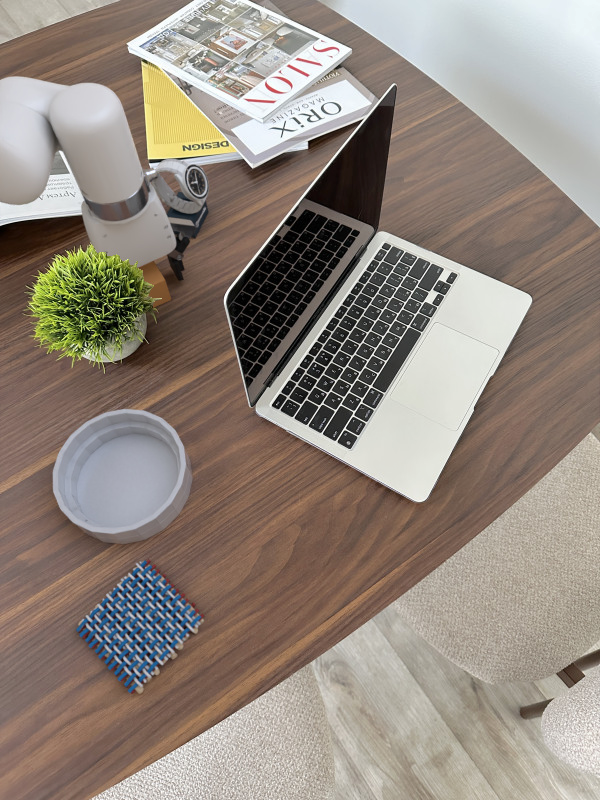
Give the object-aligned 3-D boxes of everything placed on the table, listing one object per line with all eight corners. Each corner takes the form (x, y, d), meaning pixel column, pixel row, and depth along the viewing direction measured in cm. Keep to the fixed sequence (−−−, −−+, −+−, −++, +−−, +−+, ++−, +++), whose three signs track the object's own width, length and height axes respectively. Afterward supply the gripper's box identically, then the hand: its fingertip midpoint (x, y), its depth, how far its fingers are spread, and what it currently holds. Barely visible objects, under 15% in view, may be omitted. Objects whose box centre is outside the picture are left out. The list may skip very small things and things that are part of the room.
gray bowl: (94, 569, 72) (79, 558, 67) (51, 462, 78) (35, 446, 74) (213, 505, 75) (207, 491, 71) (162, 407, 81) (154, 388, 77)
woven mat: (211, 620, 69) (208, 617, 67) (137, 699, 65) (132, 698, 64) (148, 556, 72) (144, 552, 71) (75, 628, 69) (69, 625, 67)
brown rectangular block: (152, 308, 89) (144, 288, 85) (132, 272, 92) (123, 251, 88) (171, 299, 89) (165, 279, 85) (150, 264, 93) (143, 243, 89)
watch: (207, 241, 94) (194, 184, 85) (158, 230, 96) (140, 173, 86) (220, 214, 97) (209, 156, 87) (172, 204, 98) (156, 146, 88)
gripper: (170, 146, 78) (195, 244, 93) (35, 200, 74) (84, 292, 89) (196, 184, 74) (217, 279, 90) (56, 242, 71) (103, 330, 86)
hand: (150, 285), depth 90 cm, fingers open, 7 cm apart
